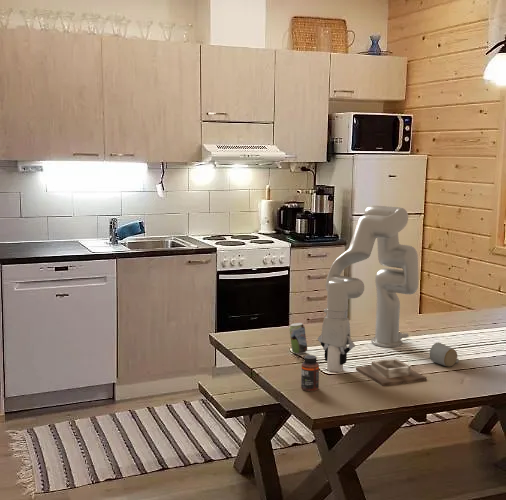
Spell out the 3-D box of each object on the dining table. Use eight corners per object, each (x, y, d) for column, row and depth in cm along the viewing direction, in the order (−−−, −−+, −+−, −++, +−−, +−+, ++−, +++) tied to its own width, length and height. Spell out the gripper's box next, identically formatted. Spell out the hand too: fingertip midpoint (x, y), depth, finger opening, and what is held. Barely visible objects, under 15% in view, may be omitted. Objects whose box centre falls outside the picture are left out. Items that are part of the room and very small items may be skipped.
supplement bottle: (317, 385, 238) (318, 353, 236) (319, 392, 232) (320, 359, 230) (300, 385, 238) (300, 353, 236) (301, 392, 232) (302, 359, 230)
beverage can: (306, 356, 271) (307, 326, 269) (287, 354, 273) (288, 325, 271) (308, 351, 277) (309, 322, 276) (290, 350, 279) (290, 321, 277)
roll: (340, 335, 257) (346, 339, 252) (339, 366, 259) (345, 371, 254) (325, 336, 256) (331, 340, 250) (324, 367, 257) (330, 372, 252)
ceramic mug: (444, 369, 258) (446, 349, 257) (428, 363, 265) (429, 343, 264) (463, 364, 264) (465, 345, 263) (447, 359, 271) (448, 340, 270)
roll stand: (397, 364, 262) (397, 354, 262) (426, 379, 246) (426, 369, 245) (355, 370, 255) (356, 359, 255) (382, 385, 239) (383, 374, 238)
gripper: (311, 312, 255) (310, 359, 257) (352, 320, 244) (350, 369, 247) (322, 308, 260) (320, 355, 263) (363, 316, 250) (361, 364, 253)
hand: (335, 361), depth 255 cm, fingers closed on roll, 5 cm apart
